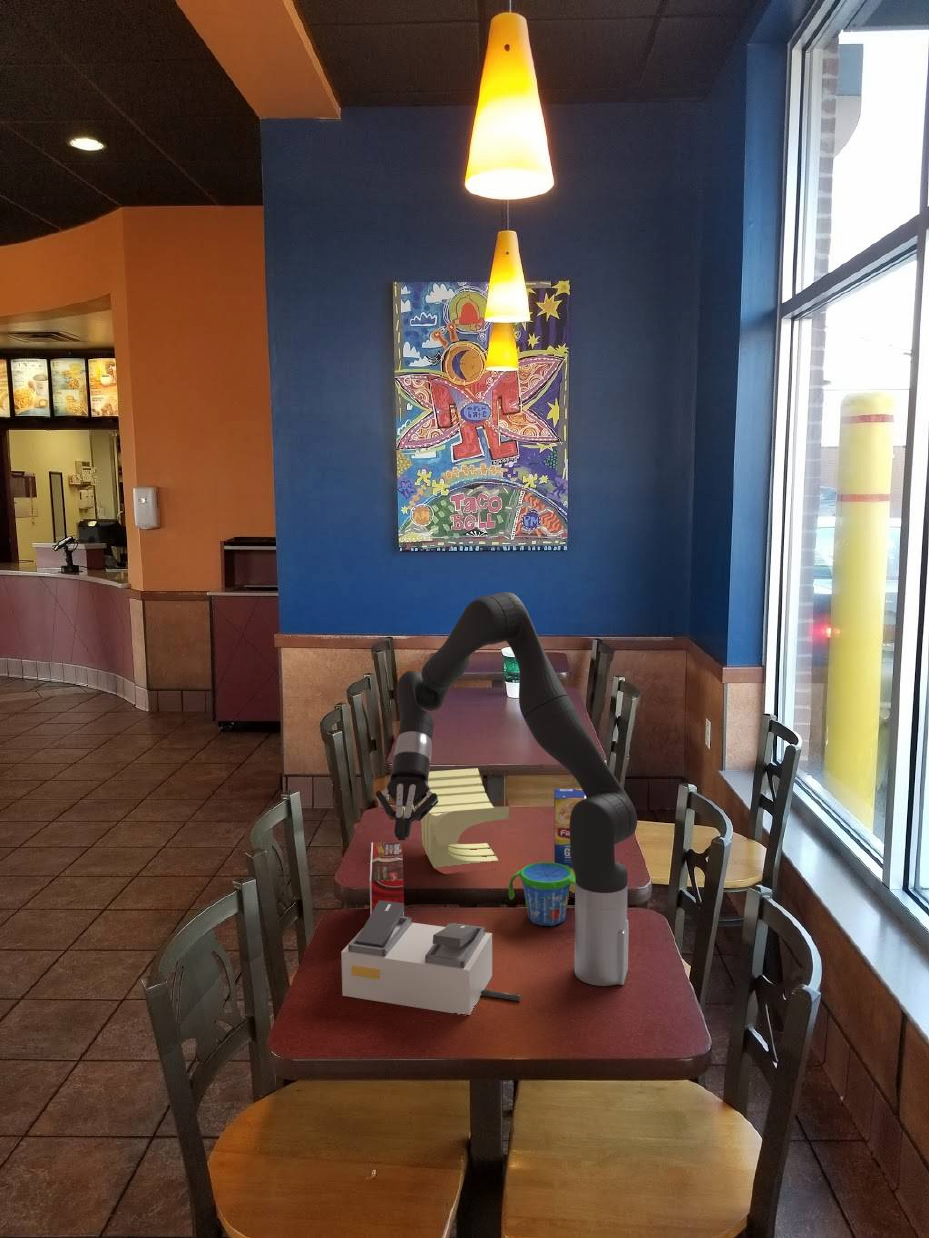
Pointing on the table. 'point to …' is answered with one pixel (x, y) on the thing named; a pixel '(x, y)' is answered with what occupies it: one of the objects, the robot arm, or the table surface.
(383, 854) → the ice cream box
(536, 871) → the snack cup
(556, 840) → the beverage box
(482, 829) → the table surface
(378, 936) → the rocker dark gray
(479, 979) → the switch box
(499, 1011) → the table surface
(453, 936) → the rocker plain
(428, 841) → the slatted curved stool
